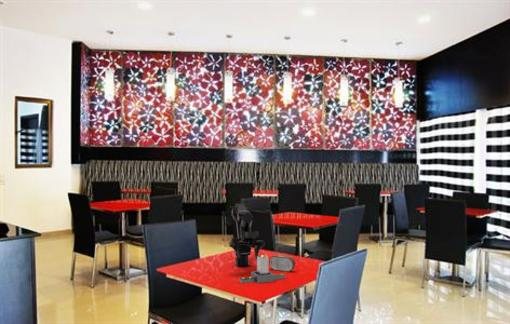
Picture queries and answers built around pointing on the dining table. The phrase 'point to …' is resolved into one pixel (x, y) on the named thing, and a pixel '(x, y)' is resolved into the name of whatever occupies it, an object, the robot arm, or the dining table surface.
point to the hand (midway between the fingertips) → (248, 258)
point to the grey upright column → (262, 265)
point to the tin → (282, 263)
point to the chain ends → (262, 277)
